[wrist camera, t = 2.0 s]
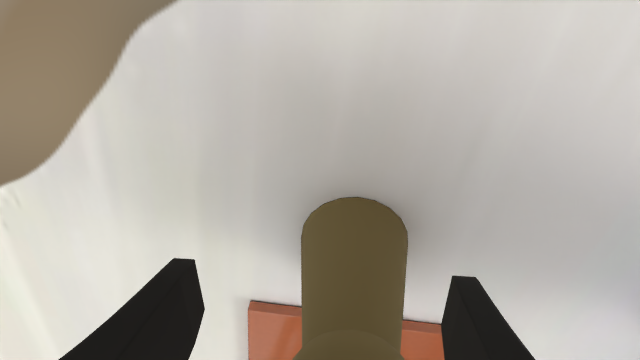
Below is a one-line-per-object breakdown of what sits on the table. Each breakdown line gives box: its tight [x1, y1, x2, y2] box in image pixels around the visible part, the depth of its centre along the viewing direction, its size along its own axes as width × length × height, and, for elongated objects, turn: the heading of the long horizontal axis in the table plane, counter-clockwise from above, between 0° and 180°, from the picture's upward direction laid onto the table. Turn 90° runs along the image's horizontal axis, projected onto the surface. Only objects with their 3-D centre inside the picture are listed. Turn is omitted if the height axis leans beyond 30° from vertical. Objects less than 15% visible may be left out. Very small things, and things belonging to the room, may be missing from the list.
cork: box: [292, 197, 408, 360], centre depth 20 cm, size 6×6×11 cm
